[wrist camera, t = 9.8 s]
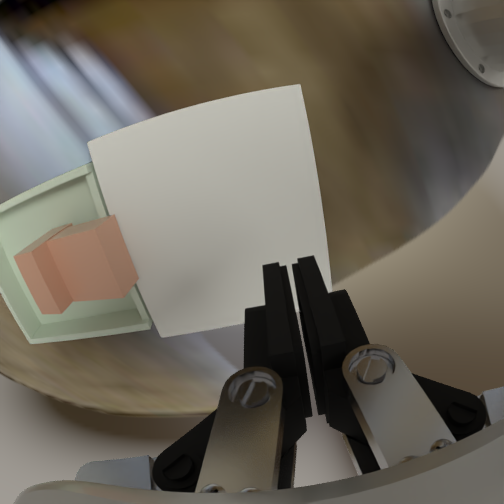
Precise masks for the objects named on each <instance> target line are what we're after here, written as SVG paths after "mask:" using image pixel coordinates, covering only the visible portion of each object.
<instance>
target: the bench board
mask: <svg viewBox="0 0 504 504" xmlns="http://www.w3.org/2000/svg"><path fill="white" fill-rule="evenodd" d="M87 144H88V147H89V151H90V155H91V158H92V162H93V165H94V168H95V172H96V175H97V178H98V182H99V185H100V188H101V191H102V194H103V197H104V200H105V203H106V206H107V209H108V212H109V215H114V214H115V217H116V220H117V223H118V226H119V228H120V231H121V234H122V236H123V239H124V242H125V244H126V247H127V250H128V252H129V255H130V257H131V260H132V262H133V265H134V267H135V270H136V272H137V275H138V277H139V279H138V280H137V282H136V284H137V286H138V289H139V291H140V293H141V295H142V298H143V300H144V302H145V304H146V307H147V309H148V311H149V313H150V315H151V317H152V320H153V322H154V324H155V326H156V328H157V330H158V332H159V334H160V336H161V338H164V337H170V336H177V335H183V334H189V333H195V332H201V331H206V330H212V329H217V328H223V327H228V326H234V325H239V324H244V323H245V309H246V308H251V307H256V306H262V305H265V296H264V282H263V268H262V265H265V264H270V263H276V262H279V265H280V266H284V265H286V266H287V271H288V276H289V281H290V285H291V290H292V295H293V300H294V305H295V310H296V312H299V307H298V301H297V295H296V288H295V282H294V276H293V270H292V264H294V263H298V262H297V258H302V257H307V256H312V255H314V257H315V259H316V262H317V264H318V267H319V270H320V272H321V275H322V277H323V280H324V283H325V285H326V288H327V291H328V293H330V292H332V283H331V273H330V264H329V255H328V246H327V238H326V230H325V222H324V215H323V208H322V201H321V194H320V188H319V181H318V175H317V169H316V163H315V157H314V151H313V146H312V140H311V135H310V130H309V124H308V119H307V114H306V109H305V104H304V100H303V95H302V90H301V86H300V84H296V85H290V86H283V87H277V88H271V89H265V90H260V91H255V92H250V93H245V94H240V95H235V96H231V97H226V98H222V99H218V100H214V101H210V102H206V103H202V104H198V105H194V106H191V107H187V108H183V109H180V110H176V111H173V112H170V113H166V114H163V115H160V116H157V117H154V118H151V119H148V120H145V121H142V122H139V123H136V124H133V125H130V126H128V127H125V128H122V129H119V130H117V131H114V132H111V133H109V134H106V135H104V136H101V137H99V138H96V139H94V140H91V141H89V142H87Z"/></svg>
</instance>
